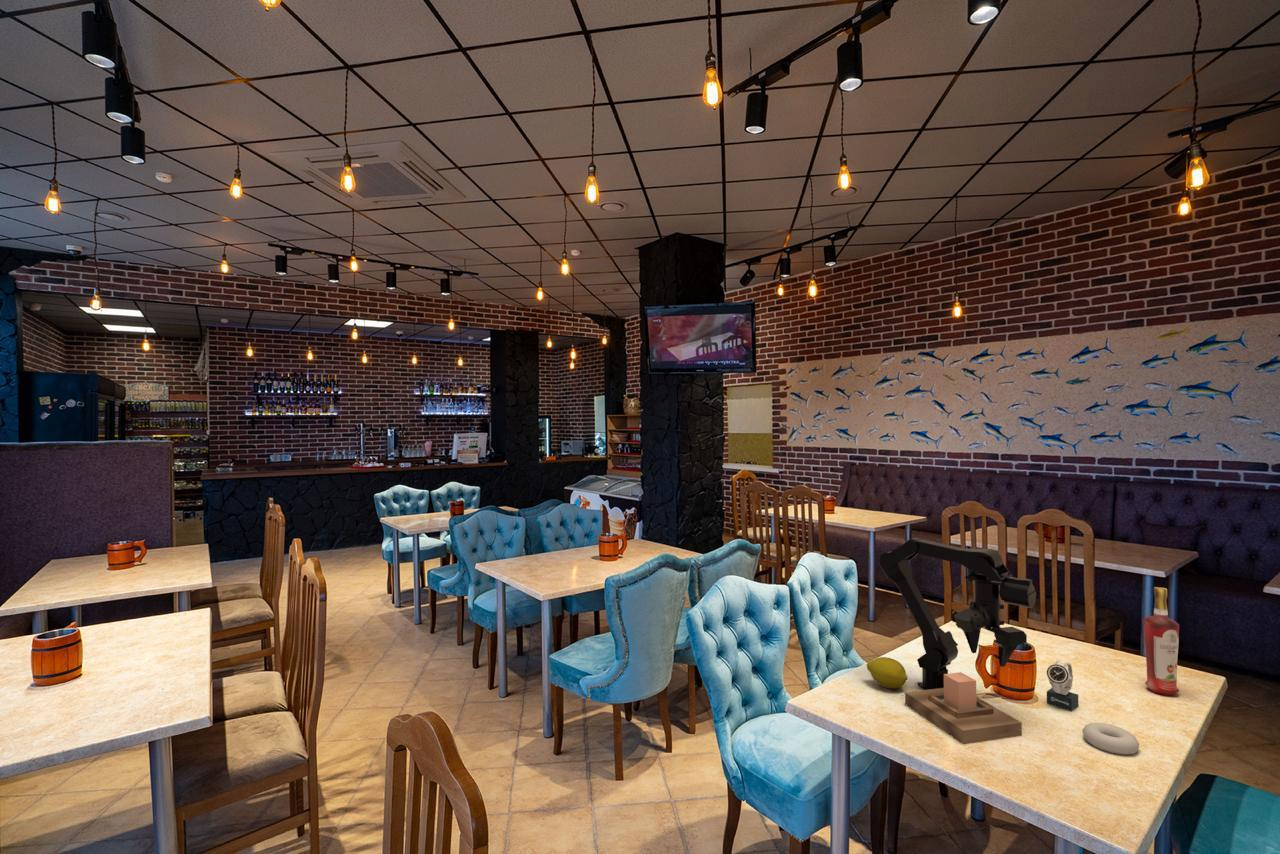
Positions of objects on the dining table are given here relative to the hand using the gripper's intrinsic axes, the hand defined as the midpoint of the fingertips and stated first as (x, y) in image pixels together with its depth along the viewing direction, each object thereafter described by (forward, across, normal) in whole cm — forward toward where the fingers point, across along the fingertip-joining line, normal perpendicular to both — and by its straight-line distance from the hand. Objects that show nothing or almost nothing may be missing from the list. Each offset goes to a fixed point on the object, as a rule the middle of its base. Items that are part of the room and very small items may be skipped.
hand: (987, 659), depth 151 cm
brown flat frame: (+12, +4, -12) cm, 17 cm away
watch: (+12, +4, +19) cm, 23 cm away
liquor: (+12, +4, +52) cm, 54 cm away
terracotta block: (+9, +4, -12) cm, 15 cm away
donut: (+12, +22, +12) cm, 28 cm away
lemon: (+12, -16, -18) cm, 27 cm away
